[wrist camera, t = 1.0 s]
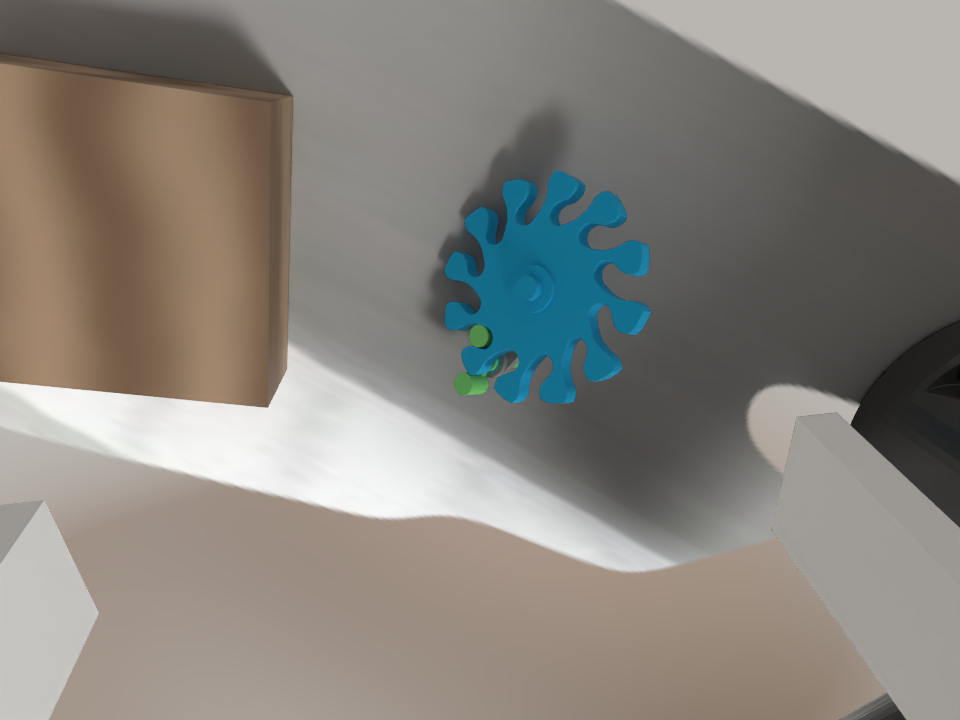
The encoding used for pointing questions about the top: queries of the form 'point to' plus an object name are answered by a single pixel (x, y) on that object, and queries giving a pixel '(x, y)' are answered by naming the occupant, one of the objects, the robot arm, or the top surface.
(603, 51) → the top surface
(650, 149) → the top surface
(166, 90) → the brown rectangular block
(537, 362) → the gear
